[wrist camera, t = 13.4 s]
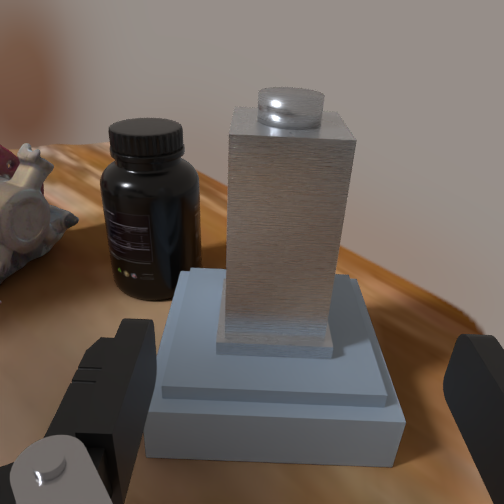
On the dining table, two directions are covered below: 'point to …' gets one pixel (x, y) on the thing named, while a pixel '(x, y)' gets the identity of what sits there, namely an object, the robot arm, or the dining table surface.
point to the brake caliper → (27, 210)
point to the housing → (283, 225)
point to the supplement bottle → (150, 207)
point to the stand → (271, 389)
